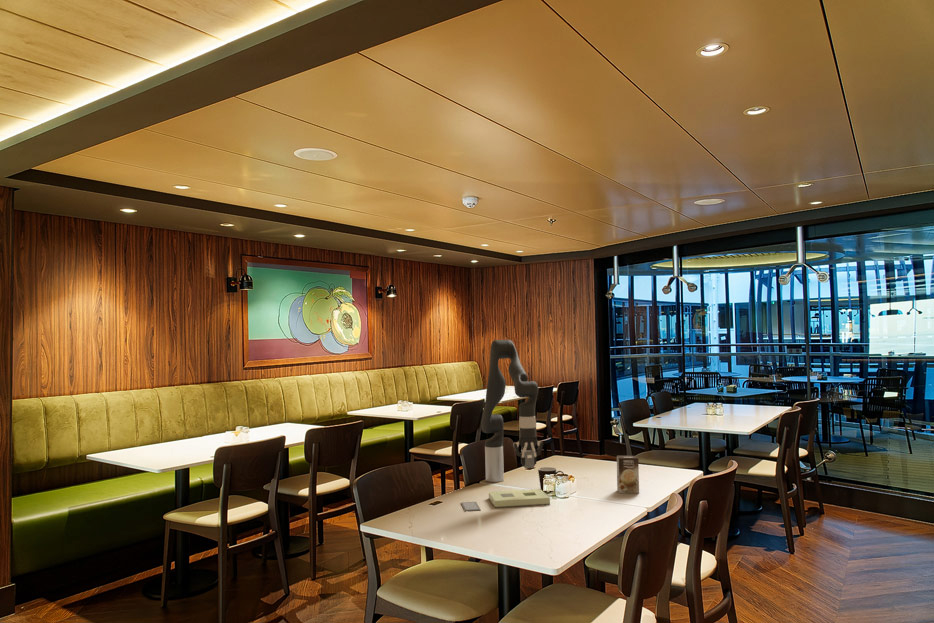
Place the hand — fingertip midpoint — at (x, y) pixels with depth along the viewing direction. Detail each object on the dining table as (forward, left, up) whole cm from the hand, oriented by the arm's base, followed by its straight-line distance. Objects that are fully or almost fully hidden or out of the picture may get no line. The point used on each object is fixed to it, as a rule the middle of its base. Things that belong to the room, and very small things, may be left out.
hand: (528, 465), depth 266 cm
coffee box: (-6, +48, -16) cm, 51 cm away
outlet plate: (0, -5, -16) cm, 16 cm away
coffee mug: (-16, +14, -16) cm, 27 cm away
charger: (0, 0, -1) cm, 1 cm away
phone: (+4, -27, -16) cm, 32 cm away
